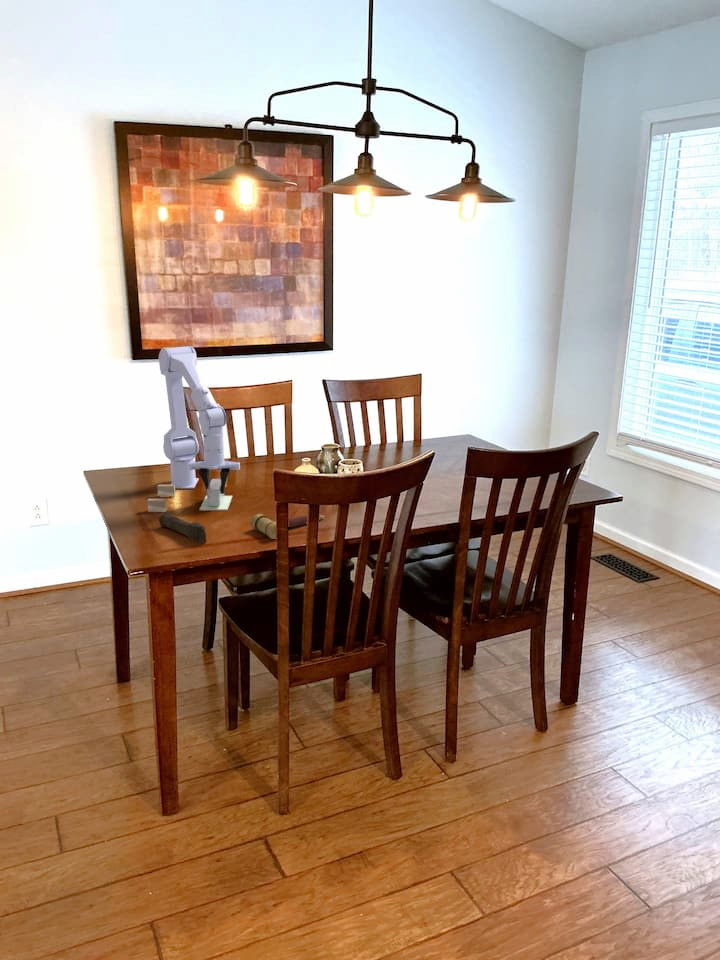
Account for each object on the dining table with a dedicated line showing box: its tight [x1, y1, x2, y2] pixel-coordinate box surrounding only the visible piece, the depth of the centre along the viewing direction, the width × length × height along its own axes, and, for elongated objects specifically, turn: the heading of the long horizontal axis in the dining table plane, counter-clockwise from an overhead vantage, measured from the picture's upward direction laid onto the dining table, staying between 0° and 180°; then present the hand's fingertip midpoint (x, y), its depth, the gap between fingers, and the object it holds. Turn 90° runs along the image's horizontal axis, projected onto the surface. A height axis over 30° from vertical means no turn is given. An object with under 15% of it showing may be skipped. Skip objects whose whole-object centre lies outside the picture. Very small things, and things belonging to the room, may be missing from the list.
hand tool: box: [158, 512, 207, 544], centre depth 207 cm, size 19×4×5 cm, turn 44°
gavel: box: [250, 513, 325, 540], centre depth 214 cm, size 21×5×10 cm
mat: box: [199, 495, 233, 511], centre depth 231 cm, size 12×8×1 cm, turn 2°
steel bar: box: [206, 478, 225, 506], centre depth 230 cm, size 10×4×5 cm, turn 2°
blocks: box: [146, 484, 177, 513], centre depth 232 cm, size 17×5×4 cm, turn 2°
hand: (215, 492), depth 231 cm, fingers closed on steel bar, 3 cm apart
